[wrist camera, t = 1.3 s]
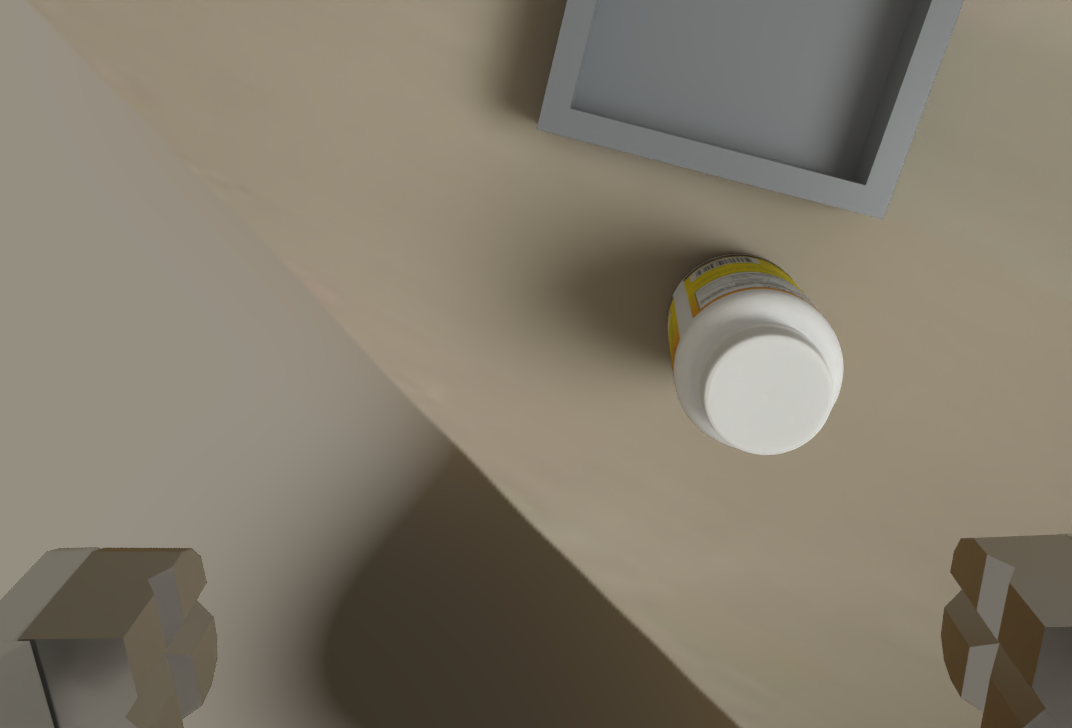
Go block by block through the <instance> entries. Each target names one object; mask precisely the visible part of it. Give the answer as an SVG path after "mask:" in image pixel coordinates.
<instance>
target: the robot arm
mask: <svg viewBox="0 0 1072 728" xmlns="http://www.w3.org/2000/svg"><path fill="white" fill-rule="evenodd" d="M950 573H951V574H952V575H953V577H954V578H955V580H956V581H957V583H958V584H959V586H960V587H961V589H962V590H961V591H960V592H959V593H958V594H957V595H956V596H955V597H954V598H953V599H952V600H951V601H950V602H949V603H948V604H947V605H946V606H945V607H944V614H943V622H942V630H941V639H942V647H943V656H944V662H945V665H946V667H947V670H948V673H949V676H950V679H951V681H952V683H953V685H954V686H955V688H956V690H957V692H958V693H959V695H960V697H961V698H962V699H964V700H965V701H967V702H968V703H970V704H972V705H973V706H975V707H976V708H978V709H979V710H981V711H982V712H984V713H983V718H982V724H981V728H1072V534H1058V535H1037V536H1011V537H984V538H961V539H960V541H959V543H958V545H957V547H956V549H955V551H954V554H953V560H952V565H951V571H950ZM206 583H207V581H206V576H205V572H204V568H203V564H202V559H201V556H200V555H199V554H197V552H196V551H194V550H193V549H192V548H102V549H101V548H97V547H95V548H94V547H92V548H59V549H55V550H51V551H47V552H46V553H45V554H44V555H43V556H42V557H41V558H40V559H39V560H38V561H37V562H36V563H35V564H34V565H33V566H32V567H31V569H30V570H29V571H28V572H27V573H26V574H25V575H24V576H23V577H22V578H21V579H20V580H19V581H18V582H17V583H16V584H15V586H14V587H13V588H12V589H11V590H10V591H9V592H8V593H7V594H6V595H5V596H4V597H3V598H2V599H1V600H0V728H184V727H183V722H182V719H183V718H185V717H186V716H188V715H189V714H191V713H192V712H193V711H195V710H196V709H198V708H199V707H200V706H202V704H203V702H204V700H205V698H206V696H207V694H208V692H209V689H210V687H211V685H212V681H213V676H214V672H215V667H216V662H217V633H216V627H215V622H214V617H213V616H212V615H211V614H210V613H209V612H208V611H207V610H206V609H205V608H204V607H203V606H202V605H201V604H200V603H199V602H198V601H197V598H198V597H199V595H200V593H201V592H202V590H203V588H204V587H205V585H206Z"/></svg>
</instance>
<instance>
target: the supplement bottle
mask: <svg viewBox="0 0 1072 728" xmlns="http://www.w3.org/2000/svg"><path fill="white" fill-rule="evenodd" d="M667 330H668V339H669V346H670V353H671V361H672V369H673V376H674V383H675V388H676V392H677V395H678V398H679V401H680V403H681V405H682V407H683V409H684V411H685V413H686V414H687V416H688V417H689V418H690V420H691V421H692V422H693V423H694V424H695V425H696V426H697V427H698V428H699V429H700V430H701V431H702V432H704V433H705V434H706V435H708V436H709V437H711V438H713V439H714V440H716V441H718V442H720V443H722V444H725V445H728V446H730V447H734V448H737V449H739V450H742V451H744V452H748V453H752V454H758V455H775V454H781V453H785V452H788V451H791V450H793V449H796V448H798V447H800V446H802V445H803V444H805V443H806V442H808V441H809V440H810V439H811V438H813V437H814V436H815V435H816V434H817V433H818V432H819V430H820V429H821V428H822V427H823V425H824V423H825V422H826V420H827V418H828V416H829V414H830V411H831V409H832V408H833V406H834V404H835V402H836V400H837V398H838V395H839V392H840V389H841V384H842V379H843V357H842V352H841V348H840V344H839V342H838V339H837V337H836V335H835V333H834V331H833V329H832V328H831V326H830V325H829V323H828V321H827V320H826V319H825V318H824V316H823V315H822V314H821V313H820V312H819V311H818V310H817V308H816V307H815V306H814V305H813V304H812V303H811V301H810V300H809V299H808V298H807V297H806V295H805V294H804V293H803V292H802V291H801V290H800V288H799V287H798V286H797V285H796V284H795V282H794V281H793V280H792V279H791V277H790V276H789V275H788V274H787V273H785V272H784V271H783V270H782V269H781V268H780V267H778V266H777V265H775V264H773V263H772V262H770V261H768V260H766V259H763V258H760V257H757V256H753V255H747V254H728V255H723V256H719V257H715V258H712V259H710V260H708V261H706V262H704V263H702V264H700V265H699V266H697V267H696V268H694V269H693V270H692V271H691V272H690V273H688V274H687V275H686V276H685V278H684V279H683V280H682V281H681V282H680V284H679V285H678V287H677V288H676V290H675V292H674V294H673V296H672V299H671V301H670V305H669V309H668V315H667Z"/></svg>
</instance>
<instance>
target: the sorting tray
mask: <svg viewBox="0 0 1072 728" xmlns="http://www.w3.org/2000/svg"><path fill="white" fill-rule="evenodd" d="M963 1H964V0H567V3H566V7H565V12H564V16H563V20H562V24H561V28H560V33H559V37H558V41H557V45H556V50H555V54H554V58H553V62H552V66H551V71H550V75H549V79H548V83H547V87H546V92H545V96H544V100H543V104H542V108H541V113H540V117H539V121H538V125H537V129H538V130H541V131H545V132H549V133H553V134H557V135H561V136H564V137H568V138H572V139H576V140H580V141H584V142H587V143H591V144H595V145H599V146H603V147H607V148H610V149H614V150H618V151H622V152H626V153H630V154H634V155H637V156H641V157H645V158H649V159H653V160H657V161H660V162H664V163H668V164H672V165H676V166H680V167H683V168H687V169H691V170H695V171H699V172H703V173H706V174H710V175H714V176H718V177H722V178H726V179H729V180H733V181H737V182H741V183H745V184H749V185H752V186H756V187H760V188H764V189H768V190H772V191H775V192H779V193H783V194H787V195H791V196H795V197H798V198H802V199H806V200H810V201H814V202H818V203H821V204H825V205H829V206H833V207H837V208H841V209H844V210H848V211H852V212H856V213H860V214H864V215H867V216H871V217H875V218H879V219H883V218H884V216H885V213H886V210H887V207H888V205H889V202H890V199H891V197H892V194H893V191H894V188H895V186H896V183H897V180H898V178H899V175H900V172H901V169H902V167H903V164H904V161H905V159H906V156H907V153H908V150H909V148H910V145H911V142H912V140H913V137H914V134H915V131H916V129H917V126H918V123H919V121H920V118H921V115H922V112H923V110H924V107H925V104H926V102H927V99H928V96H929V93H930V91H931V88H932V85H933V83H934V80H935V77H936V74H937V72H938V69H939V66H940V64H941V61H942V58H943V55H944V53H945V50H946V47H947V45H948V42H949V39H950V36H951V34H952V31H953V28H954V26H955V23H956V20H957V17H958V15H959V12H960V9H961V7H962V4H963Z"/></svg>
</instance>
